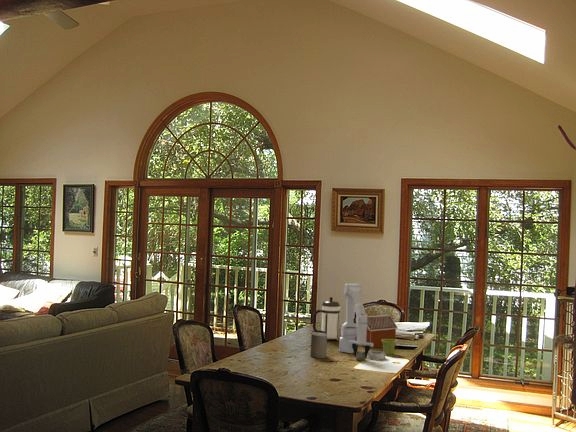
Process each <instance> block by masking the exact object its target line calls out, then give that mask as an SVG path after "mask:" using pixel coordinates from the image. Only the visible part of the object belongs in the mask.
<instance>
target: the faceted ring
mask: <svg viewBox="0 0 576 432" xmlns="http://www.w3.org/2000/svg"><path fill="white" fill-rule="evenodd" d="M367 358H368V359H370V360H373V361H374V360H375V361H384V360H385V359H386V353H385V352H384V351H383V350H382V351H381V350H369V352H368V354H367Z"/></svg>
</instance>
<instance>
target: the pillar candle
mask: <svg viewBox="0 0 576 432" xmlns="http://www.w3.org/2000/svg"><path fill="white" fill-rule="evenodd" d="M310 338H311V341H310V357H311V358H315V359H325V358H326V357H327V346H328V345H327V342H328V339H327V334H325V333H316V332H312V333H311V337H310Z"/></svg>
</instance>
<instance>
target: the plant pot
mask: <svg viewBox="0 0 576 432" xmlns="http://www.w3.org/2000/svg"><path fill="white" fill-rule="evenodd" d="M382 343H383V347H382V349H383V350H382V352H385V353H386V354H385V356H387V355H388V356H391V355H394V353H395V346H396V343H397V340H393V339H382Z"/></svg>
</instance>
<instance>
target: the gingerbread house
mask: <svg viewBox="0 0 576 432" xmlns="http://www.w3.org/2000/svg"><path fill="white" fill-rule="evenodd" d="M368 319H369V321H368V324H367V332H366V342H369V343H373V347H371V348H370V349H373V348H381V347H382V348H383V343H382V339H393V340H396V337H397V336H396V335H397V333H396V331H397V330H398V328H399V326H397V324H396V322H395V320H394V319H393V318H392V316H391V315H390V314H382V315H381V314H380V315H369V316H368ZM355 341H357V336H356V338H355ZM396 341H397V340H396ZM363 345H364V344H363ZM363 345H360V346H361V347H364V346H363Z"/></svg>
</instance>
